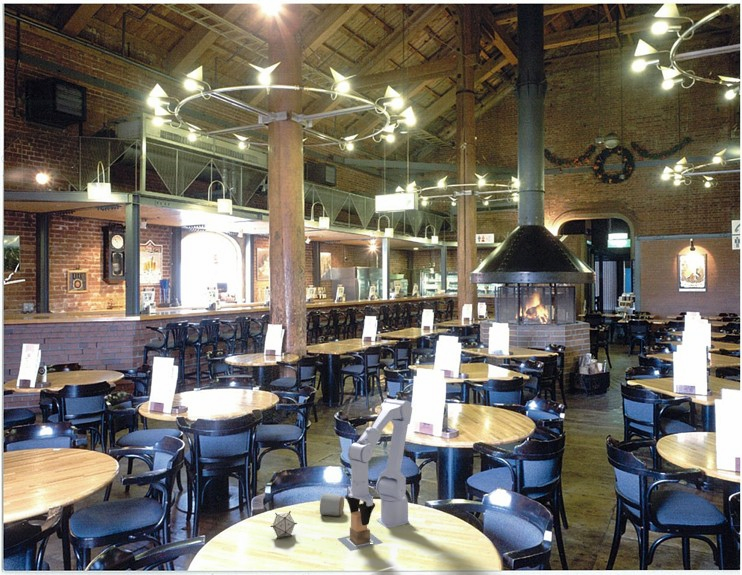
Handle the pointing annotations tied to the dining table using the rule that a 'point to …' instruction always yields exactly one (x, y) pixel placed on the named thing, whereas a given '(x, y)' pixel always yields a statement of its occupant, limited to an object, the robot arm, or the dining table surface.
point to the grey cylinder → (331, 504)
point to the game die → (283, 525)
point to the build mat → (353, 546)
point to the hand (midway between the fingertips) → (359, 520)
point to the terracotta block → (357, 522)
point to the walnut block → (360, 536)
